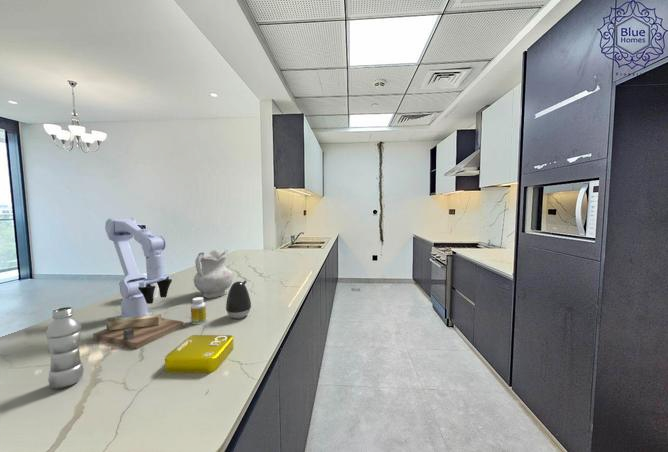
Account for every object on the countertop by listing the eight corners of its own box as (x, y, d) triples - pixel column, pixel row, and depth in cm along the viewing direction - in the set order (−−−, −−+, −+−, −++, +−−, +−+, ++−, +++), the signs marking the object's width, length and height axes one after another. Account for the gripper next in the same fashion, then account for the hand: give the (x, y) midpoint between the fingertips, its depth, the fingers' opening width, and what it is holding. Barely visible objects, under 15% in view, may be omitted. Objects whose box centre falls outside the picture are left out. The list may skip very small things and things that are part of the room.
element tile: (191, 346, 90) (191, 333, 90) (235, 347, 89) (235, 333, 89) (161, 373, 75) (161, 357, 75) (214, 374, 74) (213, 357, 74)
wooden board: (93, 339, 95) (92, 325, 95) (143, 319, 112) (143, 308, 112) (136, 348, 88) (135, 334, 88) (183, 326, 105) (183, 314, 105)
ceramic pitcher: (220, 304, 134) (223, 254, 132) (182, 301, 134) (184, 252, 133) (237, 291, 155) (239, 249, 154) (204, 289, 155) (206, 246, 154)
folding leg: (104, 330, 97) (104, 320, 96) (109, 327, 100) (108, 317, 99) (158, 324, 101) (158, 315, 101) (161, 321, 104) (161, 312, 104)
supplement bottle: (200, 325, 106) (199, 301, 106) (188, 324, 107) (187, 300, 107) (208, 319, 111) (208, 296, 111) (197, 318, 112) (196, 296, 112)
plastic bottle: (64, 377, 73) (59, 305, 72) (91, 375, 74) (86, 304, 72) (40, 393, 67) (35, 314, 65) (69, 391, 67) (65, 313, 66)
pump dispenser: (256, 313, 118) (255, 279, 117) (241, 322, 108) (240, 285, 107) (237, 310, 121) (236, 277, 121) (220, 319, 112) (219, 283, 111)
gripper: (150, 270, 100) (152, 306, 100) (176, 263, 114) (178, 294, 115) (133, 270, 100) (135, 306, 101) (160, 263, 115) (162, 294, 115)
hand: (156, 300), depth 108 cm, fingers open, 7 cm apart
